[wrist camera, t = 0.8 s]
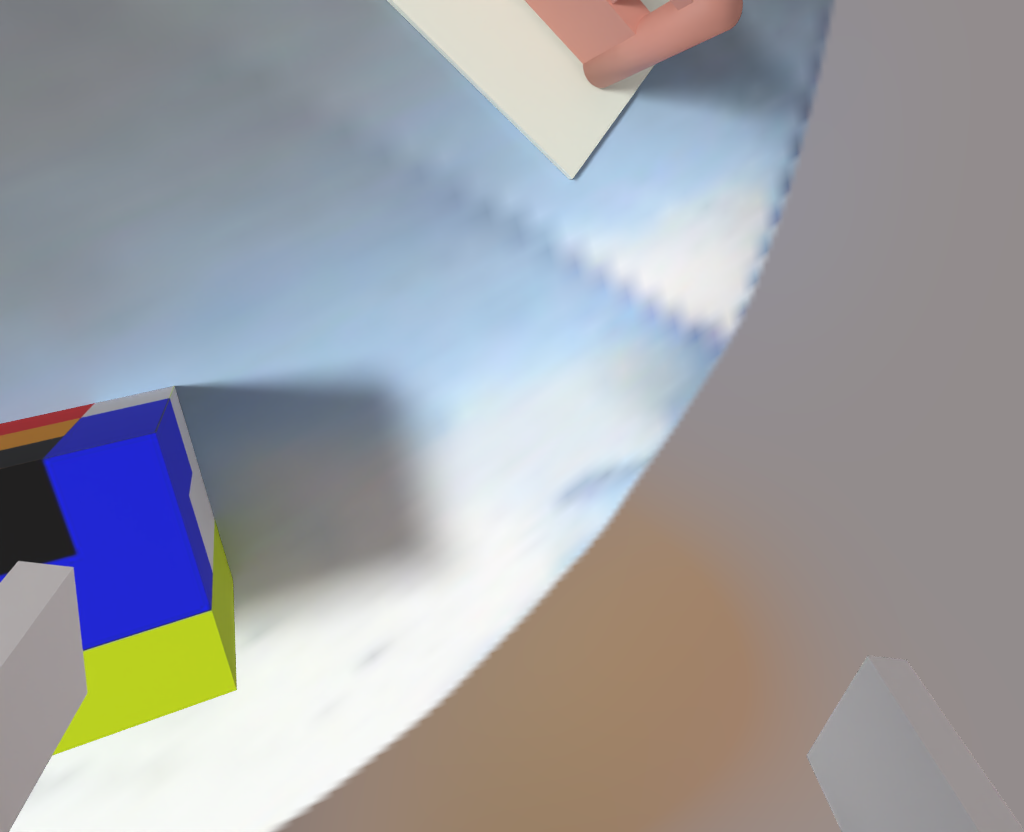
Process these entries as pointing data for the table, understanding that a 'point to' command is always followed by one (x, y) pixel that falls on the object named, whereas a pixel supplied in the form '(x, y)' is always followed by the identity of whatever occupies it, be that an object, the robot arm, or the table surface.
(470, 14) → the card
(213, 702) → the table surface
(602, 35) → the hinged fence half
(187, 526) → the puzzle toy
